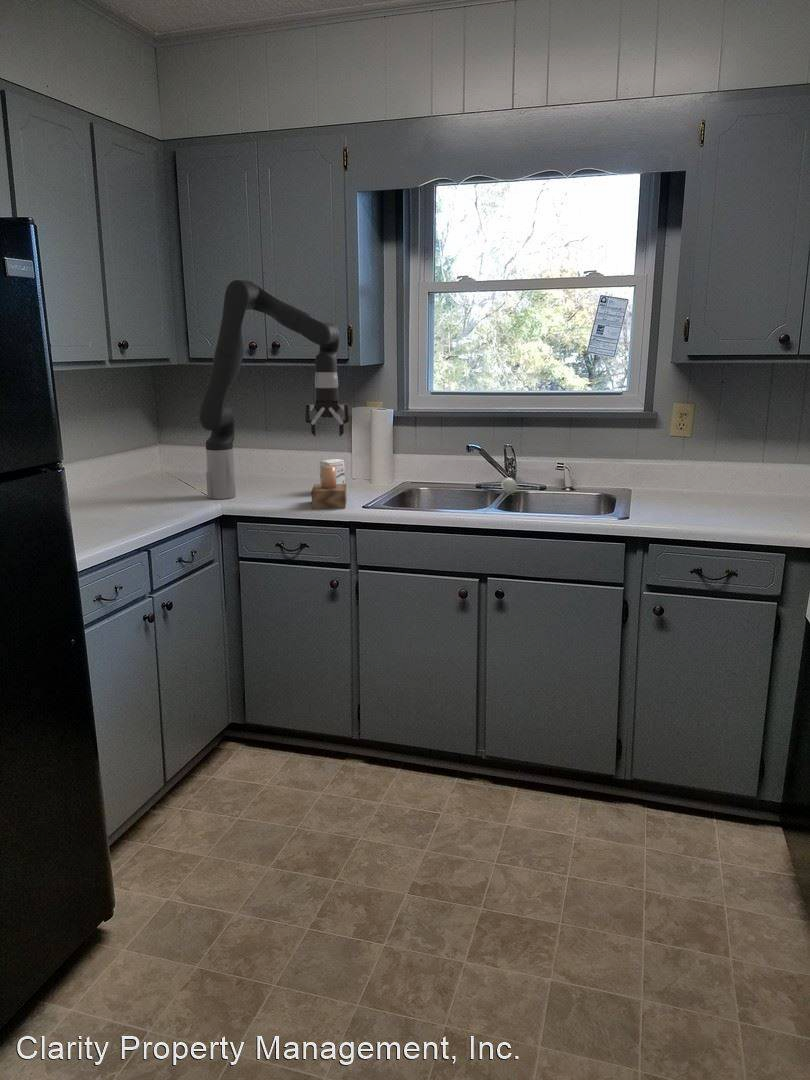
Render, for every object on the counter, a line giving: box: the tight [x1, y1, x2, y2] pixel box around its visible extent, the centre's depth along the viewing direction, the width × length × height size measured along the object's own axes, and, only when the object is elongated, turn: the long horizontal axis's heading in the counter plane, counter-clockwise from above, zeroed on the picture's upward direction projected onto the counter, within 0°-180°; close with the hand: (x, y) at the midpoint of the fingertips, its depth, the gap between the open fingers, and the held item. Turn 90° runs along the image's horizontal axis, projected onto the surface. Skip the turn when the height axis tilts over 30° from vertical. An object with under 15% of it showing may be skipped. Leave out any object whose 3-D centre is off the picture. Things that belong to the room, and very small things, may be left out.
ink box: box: [319, 458, 346, 484], centre depth 289 cm, size 9×5×12 cm, turn 143°
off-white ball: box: [500, 476, 518, 494], centre depth 290 cm, size 5×5×5 cm
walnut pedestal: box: [310, 483, 348, 510], centre depth 269 cm, size 11×12×6 cm
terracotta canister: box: [321, 466, 336, 489], centre depth 267 cm, size 5×5×7 cm
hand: (327, 435), depth 264 cm, fingers open, 8 cm apart
